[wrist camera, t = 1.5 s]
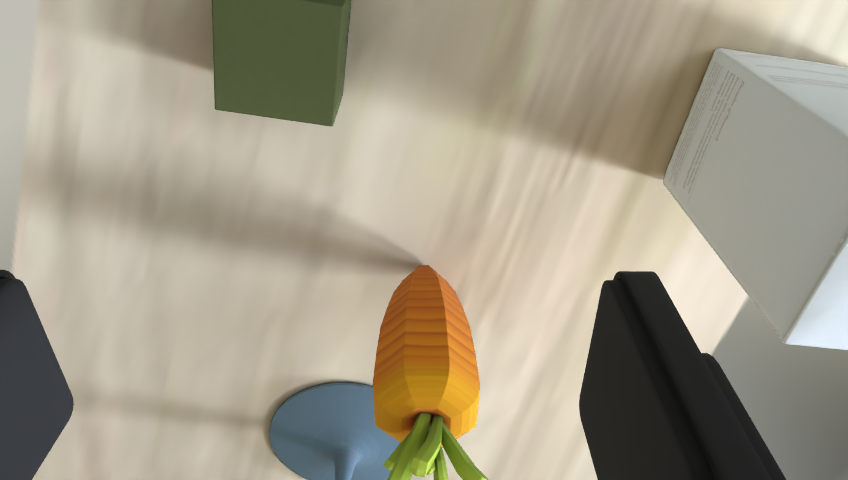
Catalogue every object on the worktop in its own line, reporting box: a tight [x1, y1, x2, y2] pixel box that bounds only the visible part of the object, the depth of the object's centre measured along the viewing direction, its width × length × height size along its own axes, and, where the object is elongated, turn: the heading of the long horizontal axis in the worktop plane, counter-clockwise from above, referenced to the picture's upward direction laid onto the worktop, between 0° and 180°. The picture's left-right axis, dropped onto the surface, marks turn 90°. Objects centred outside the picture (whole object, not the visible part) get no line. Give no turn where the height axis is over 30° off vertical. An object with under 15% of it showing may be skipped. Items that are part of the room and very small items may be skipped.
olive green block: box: [212, 0, 351, 126], centre depth 26 cm, size 5×5×4 cm
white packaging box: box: [663, 48, 848, 350], centre depth 25 cm, size 7×7×13 cm
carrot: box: [373, 265, 488, 480], centre depth 29 cm, size 5×5×15 cm
